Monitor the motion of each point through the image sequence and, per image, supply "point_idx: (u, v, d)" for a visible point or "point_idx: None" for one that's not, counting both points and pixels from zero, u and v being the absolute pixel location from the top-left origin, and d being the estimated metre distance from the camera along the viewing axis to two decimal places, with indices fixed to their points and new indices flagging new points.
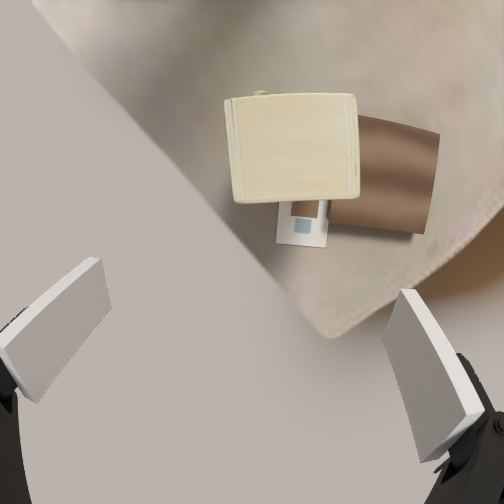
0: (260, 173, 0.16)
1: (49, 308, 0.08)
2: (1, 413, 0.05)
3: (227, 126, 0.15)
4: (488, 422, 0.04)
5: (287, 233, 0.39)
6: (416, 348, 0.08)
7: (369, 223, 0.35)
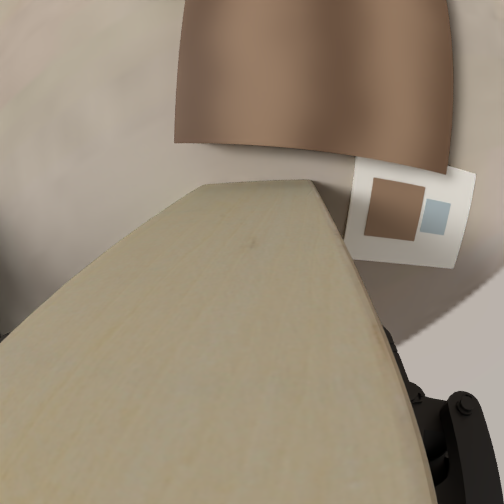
0: None
1: None
2: None
3: None
4: None
5: (443, 247, 0.16)
6: None
7: (445, 75, 0.10)
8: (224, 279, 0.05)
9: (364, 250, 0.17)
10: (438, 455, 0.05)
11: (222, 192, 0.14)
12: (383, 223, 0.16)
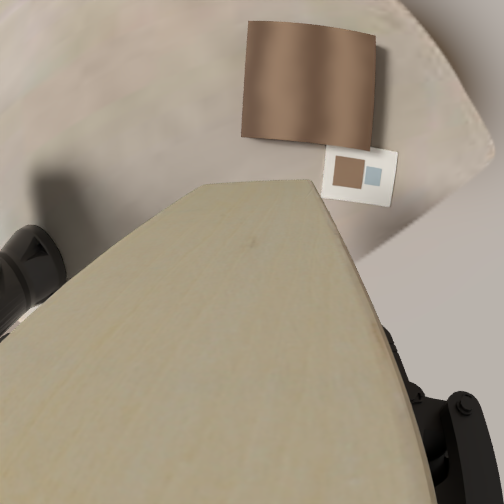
0: None
1: None
2: None
3: None
4: None
5: (380, 193, 0.32)
6: None
7: (369, 103, 0.26)
8: (224, 278, 0.05)
9: (333, 193, 0.33)
10: (438, 455, 0.05)
11: (222, 192, 0.14)
12: (342, 179, 0.32)
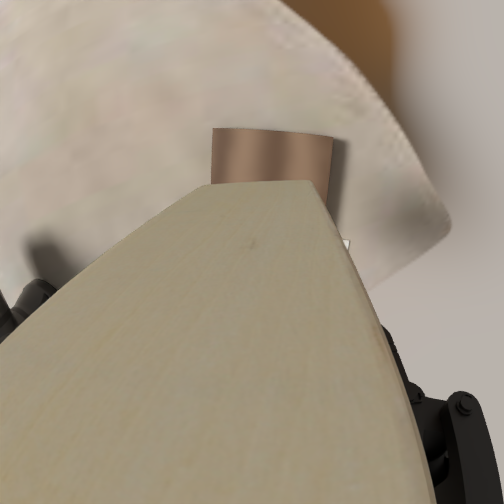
0: None
1: None
2: None
3: None
4: None
5: None
6: None
7: None
8: (224, 280, 0.05)
9: None
10: (438, 455, 0.05)
11: (222, 192, 0.14)
12: None
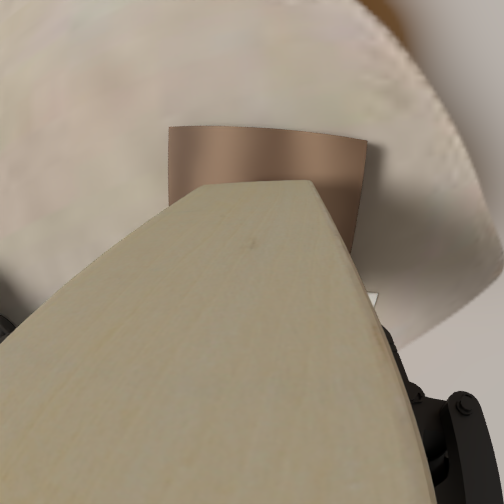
0: None
1: None
2: None
3: None
4: None
5: None
6: None
7: None
8: (224, 280, 0.05)
9: None
10: (438, 455, 0.05)
11: (222, 192, 0.14)
12: None
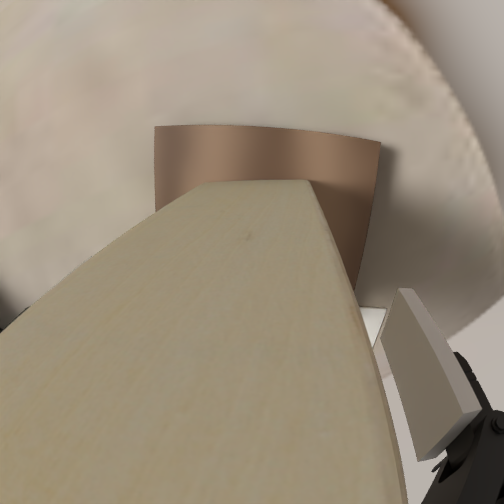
0: None
1: None
2: None
3: None
4: (485, 421, 0.04)
5: None
6: (413, 346, 0.08)
7: (351, 269, 0.19)
8: (221, 265, 0.06)
9: None
10: None
11: (222, 190, 0.14)
12: None
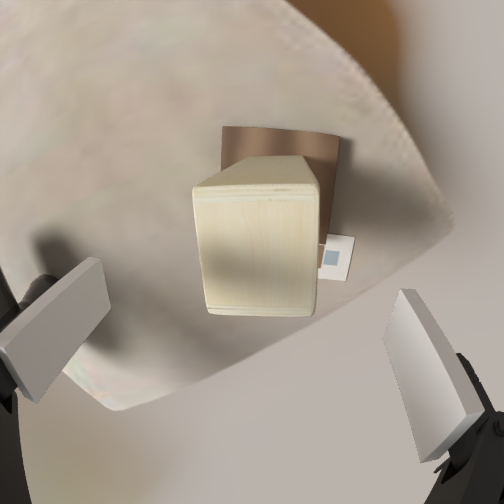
0: (284, 291, 0.16)
1: (49, 308, 0.08)
2: (1, 413, 0.05)
3: (234, 314, 0.17)
4: (488, 422, 0.04)
5: (337, 271, 0.41)
6: (416, 348, 0.08)
7: (327, 203, 0.34)
8: (276, 165, 0.22)
9: None
10: None
11: (262, 157, 0.30)
12: None
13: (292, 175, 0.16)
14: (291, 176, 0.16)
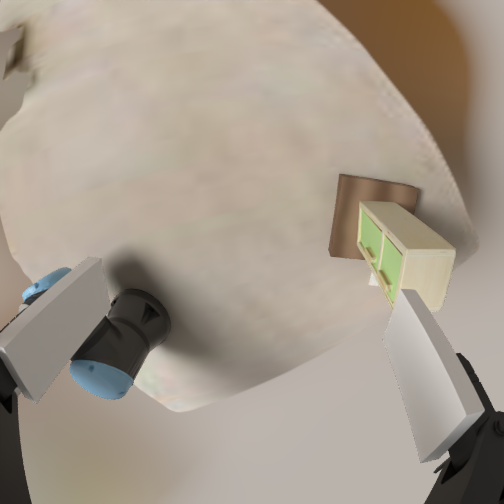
0: (433, 299, 0.27)
1: (49, 308, 0.08)
2: (1, 413, 0.05)
3: None
4: (488, 422, 0.04)
5: None
6: (416, 348, 0.08)
7: None
8: (407, 222, 0.33)
9: (376, 282, 0.53)
10: None
11: (375, 205, 0.41)
12: None
13: (436, 239, 0.27)
14: (437, 240, 0.27)
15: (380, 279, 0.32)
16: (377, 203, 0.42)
